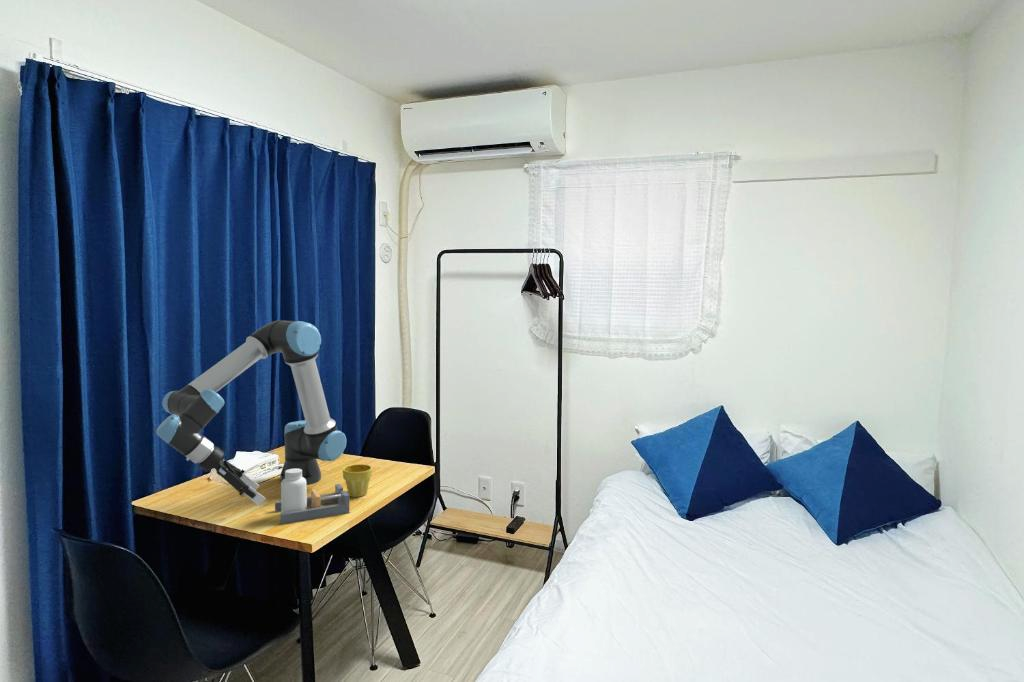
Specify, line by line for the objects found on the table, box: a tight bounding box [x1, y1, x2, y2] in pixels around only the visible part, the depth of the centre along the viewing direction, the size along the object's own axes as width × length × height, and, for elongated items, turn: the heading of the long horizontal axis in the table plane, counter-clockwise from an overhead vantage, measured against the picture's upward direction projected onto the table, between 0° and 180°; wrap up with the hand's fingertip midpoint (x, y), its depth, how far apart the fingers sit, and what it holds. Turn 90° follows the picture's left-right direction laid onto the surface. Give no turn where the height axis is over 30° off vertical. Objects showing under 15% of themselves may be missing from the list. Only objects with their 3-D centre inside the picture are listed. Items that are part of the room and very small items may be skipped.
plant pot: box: [342, 463, 373, 498], centre depth 215 cm, size 10×10×10 cm
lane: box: [274, 483, 350, 525], centre depth 197 cm, size 22×13×6 cm, turn 120°
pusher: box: [310, 488, 341, 508], centre depth 200 cm, size 10×9×6 cm
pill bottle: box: [280, 468, 308, 514], centre depth 194 cm, size 8×8×15 cm
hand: (259, 495), depth 189 cm, fingers open, 13 cm apart
